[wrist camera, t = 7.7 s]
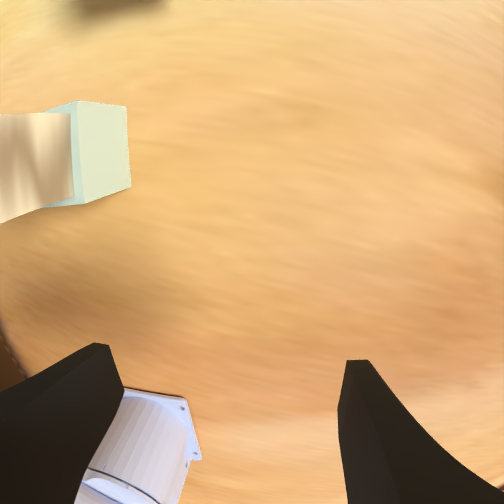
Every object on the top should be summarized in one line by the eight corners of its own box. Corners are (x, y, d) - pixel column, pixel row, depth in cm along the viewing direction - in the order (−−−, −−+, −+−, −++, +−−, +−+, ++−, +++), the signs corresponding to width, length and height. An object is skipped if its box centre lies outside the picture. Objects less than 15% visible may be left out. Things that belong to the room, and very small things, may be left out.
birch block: (74, 195, 13) (0, 223, 8) (24, 199, 14) (-44, 225, 9) (70, 113, 12) (-9, 114, 7) (19, 128, 12) (-52, 136, 8)
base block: (131, 186, 18) (85, 203, 13) (71, 193, 18) (21, 210, 14) (126, 106, 16) (77, 100, 12) (65, 121, 17) (13, 123, 12)
